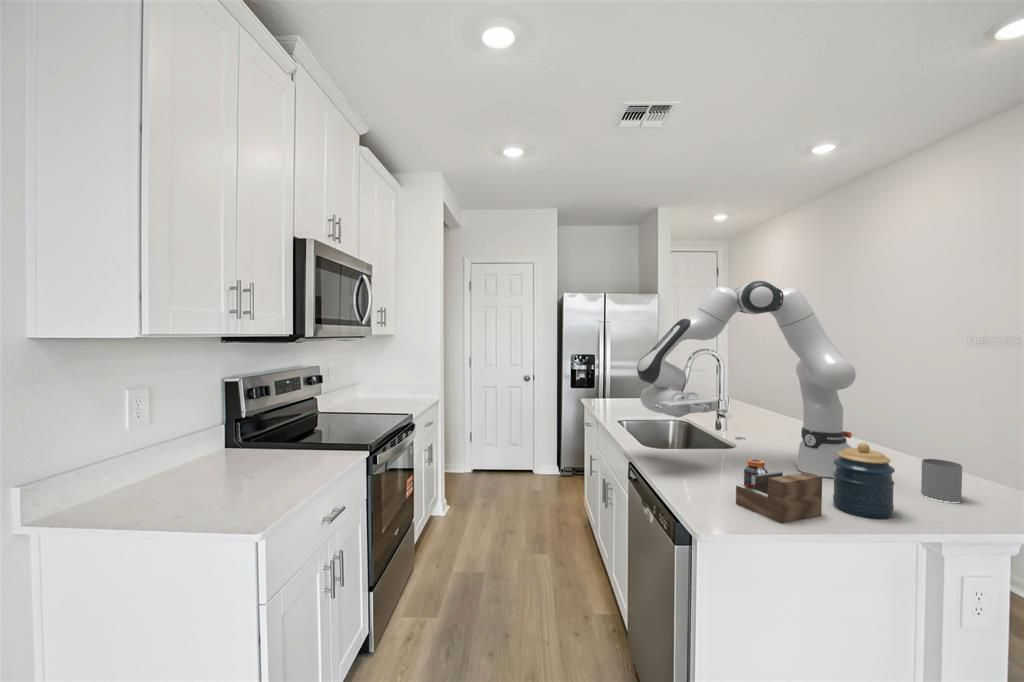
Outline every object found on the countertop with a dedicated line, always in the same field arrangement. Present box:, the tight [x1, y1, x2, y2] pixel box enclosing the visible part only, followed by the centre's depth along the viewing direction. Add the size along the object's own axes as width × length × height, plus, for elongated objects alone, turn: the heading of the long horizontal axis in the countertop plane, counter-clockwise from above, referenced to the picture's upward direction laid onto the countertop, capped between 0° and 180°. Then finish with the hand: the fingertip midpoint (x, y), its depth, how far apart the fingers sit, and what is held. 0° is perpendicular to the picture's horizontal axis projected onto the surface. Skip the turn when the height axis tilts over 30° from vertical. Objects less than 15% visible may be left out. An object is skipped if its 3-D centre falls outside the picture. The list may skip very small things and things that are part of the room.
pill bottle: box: [743, 458, 769, 486], centre depth 131 cm, size 6×6×11 cm
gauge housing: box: [735, 472, 823, 524], centre depth 125 cm, size 14×14×10 cm
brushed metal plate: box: [745, 471, 784, 494], centre depth 128 cm, size 12×1×8 cm, turn 111°
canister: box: [832, 442, 896, 519], centre depth 125 cm, size 13×13×18 cm
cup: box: [920, 458, 963, 502], centre depth 134 cm, size 8×8×10 cm
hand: (706, 409), depth 149 cm, fingers closed
